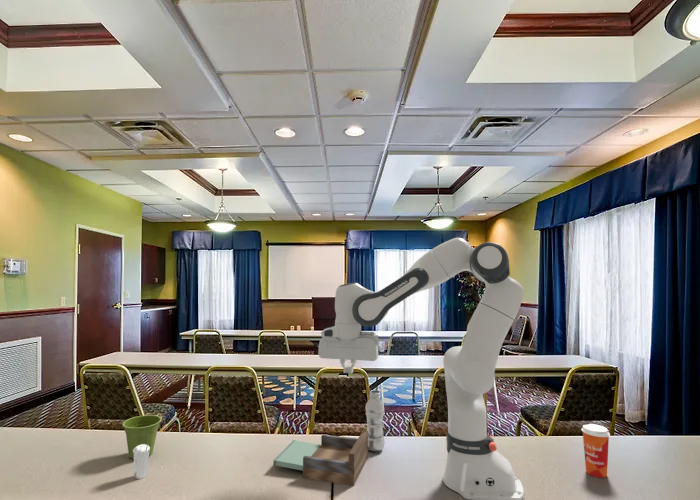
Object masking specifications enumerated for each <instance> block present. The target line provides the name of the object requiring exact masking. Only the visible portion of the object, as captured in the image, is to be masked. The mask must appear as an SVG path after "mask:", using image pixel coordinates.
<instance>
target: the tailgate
mask: <svg viewBox="0 0 700 500" xmlns="http://www.w3.org/2000/svg"><path fill="white" fill-rule="evenodd" d="M320 446H321V444H319V443H312V442H307V441H301V440H295V439H292V441H291V442H290V443H289V444H288V445H287V446H286V447H285V448H284V449H283V450H282V451H281V452H280V453H279V454H278V455H277V456H276V457H275V458H273V466H277V467H282V468H288V469H293V470H299V471H302V472H303V457H304V456H310V457H312V456H313V455H314V453H315V452H316V451H317V450H318V448H319V447H320Z"/></svg>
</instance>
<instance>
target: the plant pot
mask: <svg viewBox="0 0 700 500" xmlns="http://www.w3.org/2000/svg"><path fill="white" fill-rule="evenodd" d="M162 419H163V418H162V417H161V416H159V415H155V414H154V415H153V414H146V415H144V414H143V415H139V416H134V417H133V416H132V417H130V418H128V419H125V421H123V422H122V424H121V425H122V427H123V428H124V433H125V435H126V443H127V452H128V457H129V459H130V458H131V459H132V460H134V458H133V449H134V448H135V447H136V446H138V445H141V444H145V445H148V446H149V447H150V451H149V457H151V456H152V454H153V452H154V448H155V443H156V439H157V434H158V430H159V427H160V423H161V421H162Z"/></svg>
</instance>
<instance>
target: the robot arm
mask: <svg viewBox="0 0 700 500" xmlns="http://www.w3.org/2000/svg"><path fill="white" fill-rule="evenodd" d="M461 272H467V273H468V274H469V275H471V276H472V277H473V278H475V280H478V281H479V282H481V283H484V284H485V289H484V293H483V295H482V296H481V298H480V300H479V303H478V304H477V306H476V309H475V310H474V312H473V314H472V316H471V318H470V319H469V322H468V324H467V327H466V333H465V336H464V340H463V344H462V345H458V346H452V347H450V348H449V349H447V350H446V352H445V353H444V355H443V361H442V362H443V363H442V364H443V369H444V381H445V392H446V398H447V399H446V400H447V414H448V415H447V423H448V424H447V426H448V427H447V429H448V430H447V431H446V435H445V438H446V440H445V441H446V442H445V444H446V445H445V446H446V447H445V448H446V452H447V455H446V463H445V469H444V473H443V476H442V481H443V483H444V485H445V486H447V487H448V489H451V490H453V491H454V492H455V493H458V494H459V495H460V496H462V498H464V499H465V500H523V499H524V497H525V490H524V486H523V483H522V482H521V480H520V479H519V477H517V476H515V472H514V468H513V467H512V464H511V463H510V461H509V460H508V459H507V458H506V457H504V456H503V455H502V454H501V453H499V452H498V451H497V450H498V449H497V444H496V443H495V442H494V441H495V439H493V436H492V435H491V434H490V435H488V434H487V407H486V404H485V399H484V394H487V393H489V391H490V390H492V388H493V387H494V384H495V380H496V376H495V373H496V367H497V363H498V359H499V356H500V352H501V349H502V347H503V343H504V341H505V339H506V336H507V335H508V333H509V331H510V329H511V327H512V325H513V324H514V321H515V319H516V317H517V314H518V313H519V310H520V307H521V304H522V301H523V297H524V294H525V290H524V287H523V285H522V284H521V283H520V282H518V281H517V280H516V279H514V278H512V277H511V276H510V273H511V272H510V257H509V255H508V252H507V250H506V249H505V248H504V247H503V246H502V245H501V244H499V243H496V242H493V241H486V242H481V244H479V245H477V246H476V247H475V248H474V247H473V246H472V245H470V243H469V242H468V241H466V240H465V239H464V238H462V237H454V238H451V239H448V240H447V241H444V242H442V243H440V244H438V245H437V246H435V247H433V248H431V249H430V250H428V251H427V252H426V253H425V254H422V256H421V257H419V258H418V259H417V260H416V261H415V262H414V263H413V265H411V266H410V268H409V269H407V271H406V272H405V273H404V274H403V275H402V276H400V277H399V278H397V280H395V281H393V282H391V283H390V284H388V285H386V286H385V287H384V288H382V289H381V290H378V291H373V290H370V289H367V288H366V287H364V286H362V285H361V284H359V282H349V283H344V284H340V285H338V287H337V288H336V291H335V298H334V311H335V320H334V325H333V326H330V327H326V328H324V329H323V330H322V331H321V332H320V334H321V338H320V340H319V343H318V351H317V355H318V357H319V358H320V359H326V360H327V359H329V360H330V359H331V360H339V363H340V365H341V368H343V372H342V373H343V374H353V373H354V367H355V365H356V363H357V361H363V362H364V361H366V362H367V361H368V362H375V361H376V360H377V359H379V347H378V346H379V341H380V339H379V335H378V334H377V333H375V332H374V331H362V327H364V328H365V327H366V328H372V327H375V326H377V325H378V324H380V323H381V321H382V320H383V319H384V318H385V317H386V316H387V315H388V313H389V311H390V310H391V309H392V308H394V307H395V306H397V305H398V304H399V303H401V302H403V301H404V300H405V299H408V297H409V298H410V296H412V295H414V294H417V293H419V292H422V291H426V290H430V289H431V288H435V287H437V286H439V285H441V284H444V283H446V282H447V281H449V280H450V279H452V278H453V277H455V276H456V275H458V274H460V273H461ZM347 360H350V364H351V365H350V366H347V365H346V361H347Z"/></svg>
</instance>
